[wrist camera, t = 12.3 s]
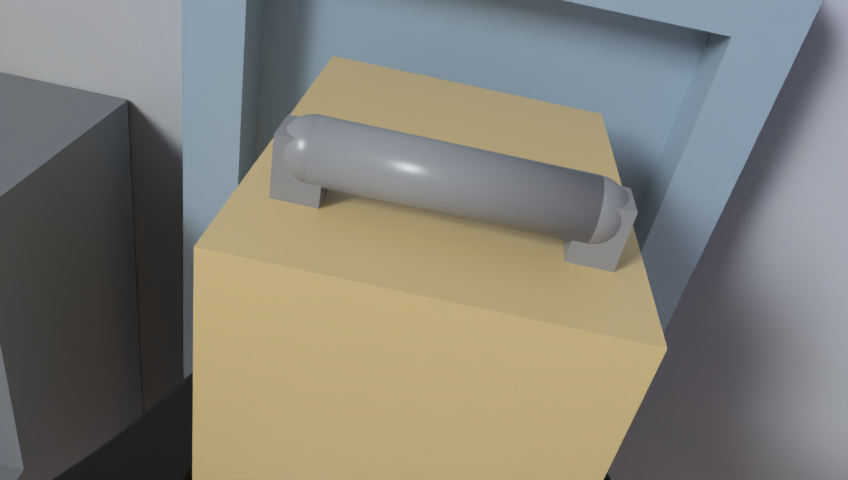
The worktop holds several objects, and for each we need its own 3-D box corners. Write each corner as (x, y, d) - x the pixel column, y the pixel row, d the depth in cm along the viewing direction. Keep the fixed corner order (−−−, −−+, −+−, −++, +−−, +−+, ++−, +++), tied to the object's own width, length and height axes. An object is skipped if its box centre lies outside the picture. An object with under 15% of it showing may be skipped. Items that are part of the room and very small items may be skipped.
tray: (795, -39, 11) (832, -20, 10) (539, 537, 19) (541, 590, 18) (220, -164, 11) (181, -161, 10) (206, 465, 19) (183, 513, 18)
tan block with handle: (619, 60, 10) (706, 269, 6) (464, 517, 16) (443, 807, 11) (339, -1, 10) (194, 158, 6) (284, 479, 16) (190, 753, 11)
